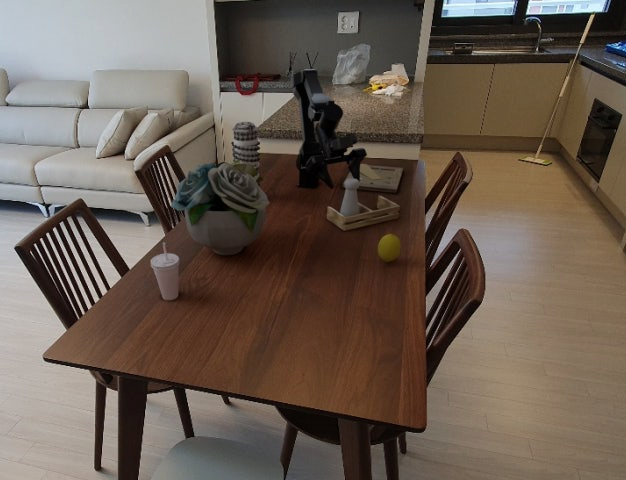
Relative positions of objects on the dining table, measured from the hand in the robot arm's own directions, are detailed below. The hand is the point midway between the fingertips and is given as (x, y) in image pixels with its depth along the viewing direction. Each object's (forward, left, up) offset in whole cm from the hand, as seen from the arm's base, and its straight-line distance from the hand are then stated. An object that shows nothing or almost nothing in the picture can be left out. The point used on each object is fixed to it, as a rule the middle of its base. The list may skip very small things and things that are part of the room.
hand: (345, 185), depth 137 cm
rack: (+5, +2, -10) cm, 12 cm away
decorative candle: (-34, +4, -10) cm, 36 cm away
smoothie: (-26, -57, -10) cm, 64 cm away
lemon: (+18, -23, -10) cm, 31 cm away
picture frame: (+2, +37, -10) cm, 38 cm away
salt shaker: (+2, -2, -10) cm, 11 cm away
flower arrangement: (-24, -31, -10) cm, 41 cm away
